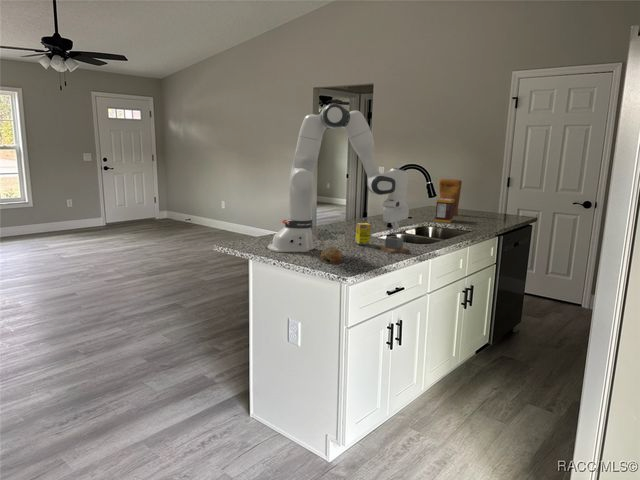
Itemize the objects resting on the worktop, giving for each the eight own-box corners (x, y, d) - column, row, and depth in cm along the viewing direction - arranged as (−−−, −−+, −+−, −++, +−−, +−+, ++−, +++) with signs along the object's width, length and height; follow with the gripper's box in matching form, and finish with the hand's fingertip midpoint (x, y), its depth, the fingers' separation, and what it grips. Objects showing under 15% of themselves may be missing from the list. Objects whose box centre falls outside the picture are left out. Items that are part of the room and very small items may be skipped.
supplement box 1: (359, 245, 236) (360, 224, 234) (355, 243, 242) (356, 222, 240) (369, 245, 238) (371, 224, 236) (365, 243, 244) (366, 222, 241)
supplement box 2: (453, 220, 337) (455, 198, 334) (449, 222, 324) (451, 200, 321) (438, 218, 342) (440, 197, 338) (434, 221, 328) (436, 199, 325)
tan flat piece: (389, 253, 222) (390, 244, 221) (378, 248, 232) (378, 240, 231) (409, 251, 226) (409, 243, 226) (397, 247, 236) (397, 239, 235)
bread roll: (318, 269, 202) (315, 254, 198) (325, 255, 210) (323, 241, 206) (339, 272, 199) (337, 257, 195) (346, 257, 207) (344, 243, 202)
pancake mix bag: (456, 216, 355) (459, 180, 349) (435, 213, 368) (438, 178, 363) (460, 215, 360) (464, 179, 354) (439, 212, 373) (442, 178, 367)
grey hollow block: (396, 249, 224) (397, 239, 223) (384, 247, 228) (385, 237, 227) (402, 247, 230) (403, 237, 229) (391, 245, 233) (391, 236, 232)
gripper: (401, 199, 234) (399, 226, 237) (381, 202, 218) (379, 231, 221) (412, 200, 231) (410, 227, 233) (393, 204, 215) (391, 233, 217)
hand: (395, 229), depth 227 cm, fingers closed
